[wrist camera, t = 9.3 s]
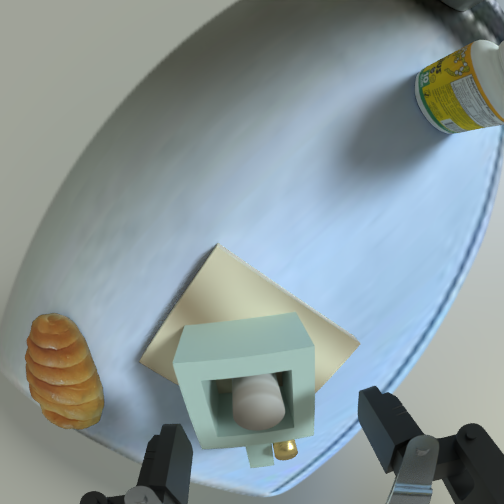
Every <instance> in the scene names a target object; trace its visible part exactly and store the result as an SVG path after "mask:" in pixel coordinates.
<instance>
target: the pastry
mask: <svg viewBox="0 0 504 504" xmlns="http://www.w3.org/2000/svg"><path fill="white" fill-rule="evenodd" d="M27 345H28V349H27V351H26V355H25V360H26V362H27V363H26V377H27V381H28V382H29V388H30V393H31V396H32V397H33V399H34V400H36V401H37V402H38V403H40V406H41V409H42V413H43V414H44V416H45V417H46V418H47V419H48V420H49V421H50V422H51V423H53V424H55V425H57V426H59V427H62V428H65V429H71V428H73V429H78V430H79V429H84V428H88V427H90V426H92V425H94V424H97V423H98V422H99V420H100V418H101V414H102V410H103V407H104V395H103V387H102V384H101V381H100V377H99V375H98V373H97V369H96V366H95V364H94V362H93V359H92V356H91V353H90V350H89V348H88V345H87V343H86V340H85V338H84V337H83V335H82V334H81V333H80V331H79V329H78V327H77V325H76V324H75V323H74V322H73V321H72V320H70V319H69V318H68V317H66V316H62V315H60V314H57V313H51V314H45V315H40V316H38V317H37V318H36V319H35V320H34V321H33V322H32V326H31V332H30V335H29V337H28V338H27Z"/></svg>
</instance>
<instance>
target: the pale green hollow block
mask: <svg viewBox="0 0 504 504" xmlns="http://www.w3.org/2000/svg"><path fill="white" fill-rule="evenodd" d="M173 367H174V370H175V374H176V377H177V380H178V383H179V386H180V390H181V393H182V396H183V399H184V402H185V405H186V408H187V410H188V413H189V416H190V419H191V422H192V424H193V427H194V430H195V433H196V435H197V438H198V440H199V443H200V445H201V448H202V449H219V448H233V447H244V446H246V450H247V455H248V459H249V463H250V467H251V468H256V467H264V466H272V465H274V460H273V452H272V444H271V443H276V442H282V441H288V440H293V439H299V438H304V437H309V436H313V435H314V412H315V346H314V344H313V342H312V340H311V338H310V336H309V335H308V333H307V331H306V329H305V327H304V326H303V324H302V322H301V320H300V318H299V317H298V315H297V313H296V312H290V313H284V314H277V315H270V316H263V317H256V318H248V319H240V320H232V321H223V322H214V323H205V324H195V325H185V326H184V329H183V332H182V335H181V338H180V341H179V344H178V347H177V351H176V354H175V357H174V360H173ZM281 371H282V383H283V386H279V388H280V392H281V396H282V400H283V404H284V408H285V415H284V417H283V419H282V420H281V421H280V423H278V424H277V425H275V426H274V427H272V428H269V429H266V430H260V431H253V430H248V429H244V428H242V427H240V426H239V425H238V424H237V423H236V422H235V421H234V418H233V403H232V393H222V394H219V393H218V389H217V385H216V380H217V379H228V378H237V377H246V376H254V375H261V374H268V373H275V372H281Z"/></svg>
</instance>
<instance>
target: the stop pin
mask: <svg viewBox="0 0 504 504" xmlns="http://www.w3.org/2000/svg"><path fill="white" fill-rule="evenodd" d="M273 448H274V453H275V457H276V458H277V459H278V460H289V459H292V458H294V457H295V456H296V455H297V453H298V451H297V447H296V444H295V440H294V439H293V440H288V441H282V442H276V443H273Z"/></svg>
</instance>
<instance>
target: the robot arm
mask: <svg viewBox="0 0 504 504" xmlns="http://www.w3.org/2000/svg"><path fill="white" fill-rule="evenodd" d="M441 1H442V2H444V3H445V4H447V5H448V6H450V7H452V8H454V9H456V10H459V11H466V10H468V9H470V8H472V7H473V6H475V5H477V4H479V3H480V2H482V1H484V0H441ZM358 419H359V422H360V425H361V426H362V428H363V430H364V432H365V434H366V436H367V438H368V440H369V442H370V444H371V446H372V448H373V450H374V451H375V454H376V456H377V458H378V460H379V461H380V463H381V465H382V467H383V469H384V471H385V473H386V474H387V473H389V472H392V471H394V473H395V475H396V477H395V480H394V483H393V486H392V488H391V491H390V494H389V496H388V499H387V501H386V504H429V503H430V500H431V496H432V489H431V485H432V481H435V480H439V479H442V480H443V482H444V484H445V486H446V488H447V490H448V491H449V493H450V495H451V497H452V499H453V501H454V503H455V504H504V454H503V453H502V452H501V450H500V449H499V448H498V446H497V445H496V444H495V443H494V441H493V440H492V439H491V437H490V436H489V435H488V434H487V432H486V431H485V430H484V429H483V428H482V426H480V425H478V424H474V423H471V424H466V425H464V426H463V427H461V428H460V429H459V431H458V433H457V434H456V435H452V436H448V437H444V438H434V437H433V436H430V435H425V434H424V433H423V432H422V431H421V429H420V428H419V427H418V425H417V424H416V422H415V421H414V420H413V418H412V417H411V416H410V414H409V413H408V412H407V410H406V409H405V407H404V406H402V403H401V402H400V401H399V399H398V398H397V397H396V396H394V395H392V394H391V393H389V392H387V393H384V394H382V393H381V392H380V390H379V389H378V388H377V387H376V386H372V387H370V388H367V389H364V390H361V391H359V399H358ZM192 457H193V450H192V445H191V443H190V441H189V439H188V437H187V435H186V433H185V431H184V429H183V427H182V426H181V424H164V425H163V426H162V429H161V433H160V435H154V436H153V437H152V439H151V440H150V441H149V442H148V445H147V449H146V453H145V456H144V460H143V463H142V467H141V471H140V475H139V478H138V482H137V485H136V487H133V488H131V489H130V490H128V491H127V493H126V494H125V495H122V496H114V497H105V496H104V495H103V494H102V493H100V492H96V491H92V492H88V493H86V494H85V495H84V496H83V497H82V498H81V501H80V504H187V503H188V493H189V484H190V475H191V466H192Z"/></svg>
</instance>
